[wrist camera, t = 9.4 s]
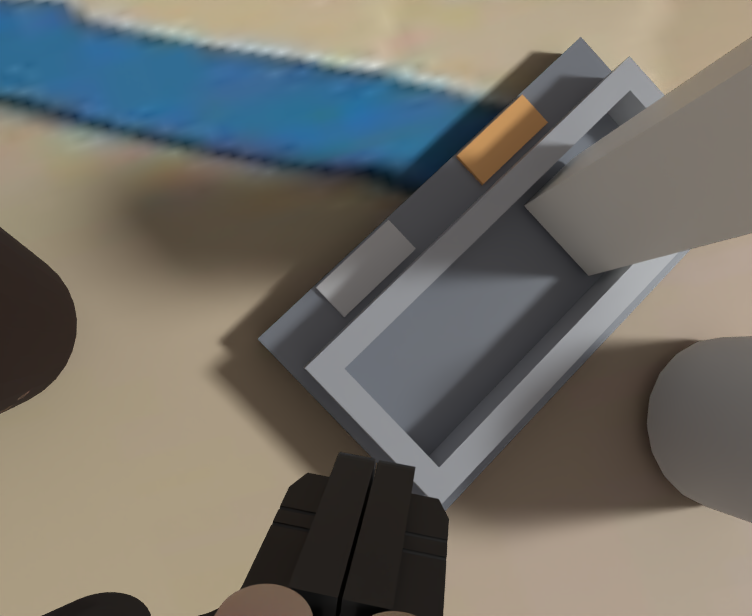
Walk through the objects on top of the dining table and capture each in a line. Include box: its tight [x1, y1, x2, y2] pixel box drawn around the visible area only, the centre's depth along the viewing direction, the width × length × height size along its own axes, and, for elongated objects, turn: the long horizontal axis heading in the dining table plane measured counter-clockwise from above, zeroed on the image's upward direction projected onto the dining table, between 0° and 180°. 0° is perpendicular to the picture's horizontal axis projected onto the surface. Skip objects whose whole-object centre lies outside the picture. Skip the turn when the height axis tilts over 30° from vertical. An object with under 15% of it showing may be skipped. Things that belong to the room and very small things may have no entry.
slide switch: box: [258, 37, 690, 511], centre depth 25 cm, size 19×10×4 cm, turn 134°
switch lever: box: [524, 37, 752, 276], centre depth 19 cm, size 3×4×15 cm
